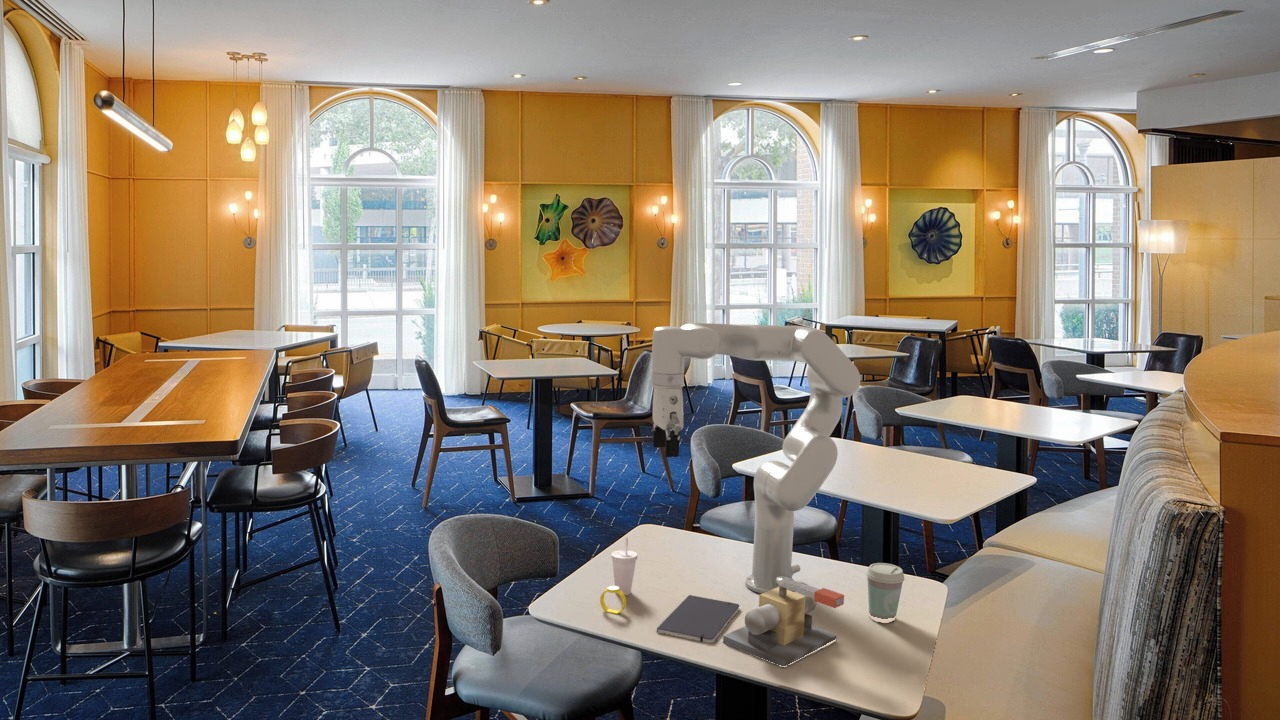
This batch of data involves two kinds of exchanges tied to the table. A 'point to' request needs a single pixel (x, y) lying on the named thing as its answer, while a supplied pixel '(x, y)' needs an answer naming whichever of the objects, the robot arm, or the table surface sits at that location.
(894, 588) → the coffee cup
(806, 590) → the lever
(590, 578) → the table surface
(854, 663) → the table surface
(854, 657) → the table surface
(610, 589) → the watch
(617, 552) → the smoothie
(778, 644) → the valve stand
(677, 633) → the notebook
